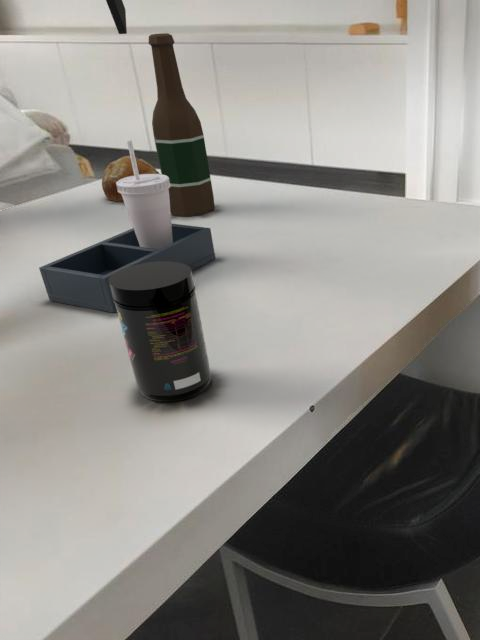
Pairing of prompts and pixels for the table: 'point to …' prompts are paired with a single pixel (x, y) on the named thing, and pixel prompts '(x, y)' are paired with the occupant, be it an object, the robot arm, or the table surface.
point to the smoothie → (147, 205)
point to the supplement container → (162, 329)
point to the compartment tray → (119, 265)
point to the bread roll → (122, 175)
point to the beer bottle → (179, 136)
